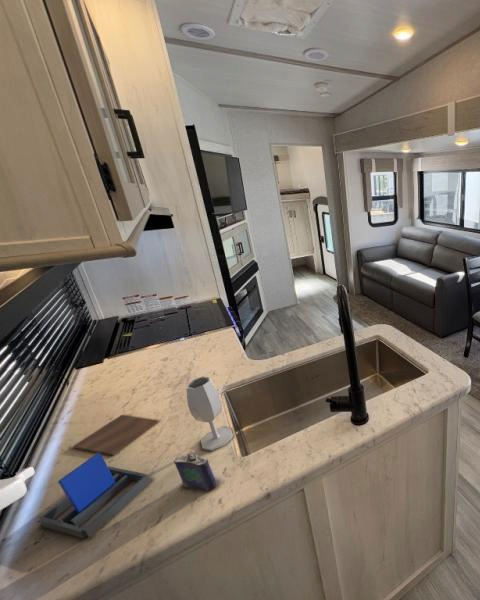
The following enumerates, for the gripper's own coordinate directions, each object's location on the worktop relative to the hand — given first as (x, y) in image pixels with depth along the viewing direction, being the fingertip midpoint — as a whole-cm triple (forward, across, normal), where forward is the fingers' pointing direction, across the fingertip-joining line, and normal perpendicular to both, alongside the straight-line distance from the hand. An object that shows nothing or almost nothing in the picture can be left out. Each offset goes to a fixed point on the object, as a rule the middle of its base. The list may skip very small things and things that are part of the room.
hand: (8, 473), depth 64 cm
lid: (+10, -4, +17) cm, 21 cm away
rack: (+10, -4, +17) cm, 21 cm away
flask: (+14, -27, +19) cm, 36 cm away
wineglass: (+29, -23, +16) cm, 40 cm away
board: (+34, +12, +12) cm, 37 cm away
